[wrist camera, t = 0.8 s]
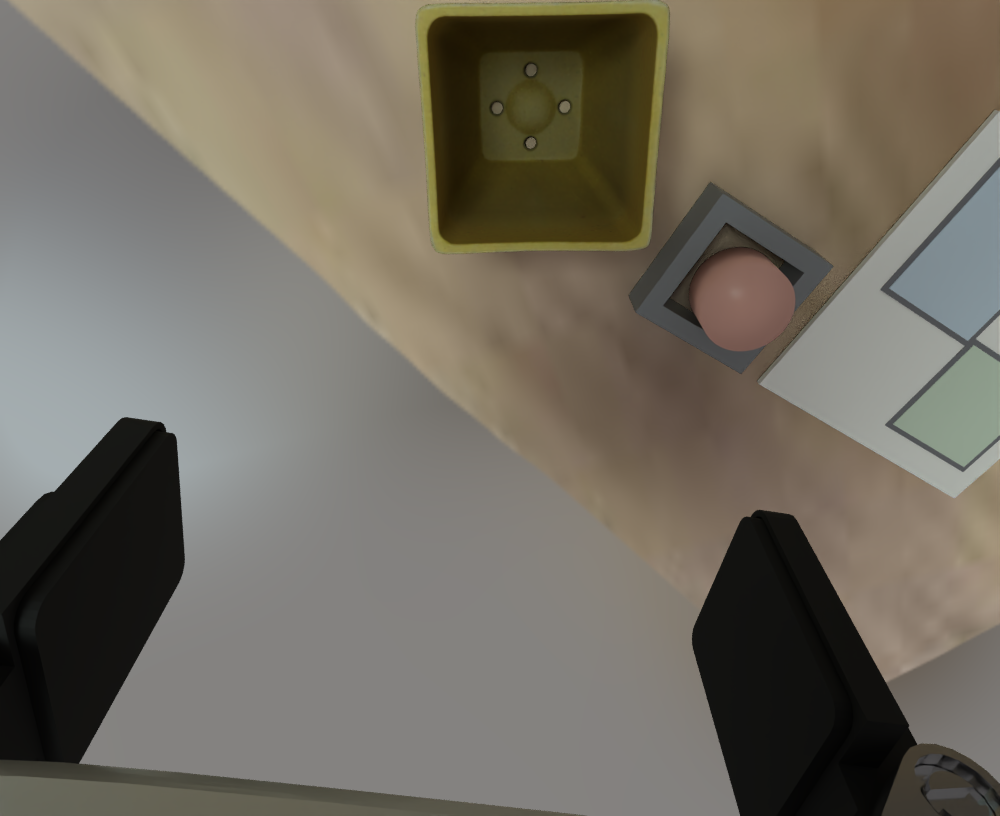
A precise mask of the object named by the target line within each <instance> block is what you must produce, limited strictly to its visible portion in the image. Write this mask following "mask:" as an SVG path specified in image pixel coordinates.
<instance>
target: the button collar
mask: <svg viewBox="0 0 1000 816" xmlns="http://www.w3.org/2000/svg"><path fill="white" fill-rule="evenodd" d="M725 223H728V224H730V225H731V226H733V227H734V228H736V229H737V230H739V231H740V232H742V233H743V234H745V235H746V236H748V237H750V238H751V239H753V240H754V241H756V242H757V243H759V244H760V245H762V246H763V247H765V248H767V249H768V250H770V251H771V252H773V253H774V254H776V255H777V256H779V257H780V258H782V259H783V260H785V262H784V263H783V264H782V266H781V267H780V268H779V270H780V271H781V272H782V273H783V274H784V275H785V276H786V277H787V278H788V280H789V281H790V282H791V284H792V286H793V289H794V292H795V309H794V312H795V311H796V310H797V308H798V307H799V306H800V305H801V304H802V303H803V301H804V300H805V299H806V298H807V297H808V296H809V294H810V293H811V292H812V291H813V290H814V289H815V287H816V286H817V285H818V284H819V283H820V282H821V280H822V279H823V278H824V277H825V276H826V275H827V273H828V272H829V271H830V270H831V269H832V268H833V265H831V264H830V263H829V262H828V261H827V260H825V259H824V258H823V257H822V256H821V255H819V254H818V253H817V252H816V251H814V250H813V249H811V248H810V247H808V246H807V245H805V244H804V243H802V242H801V241H799V240H798V239H796V238H795V237H793V236H792V235H790V234H789V233H787V232H786V231H784V230H783V229H781V228H780V227H778V226H777V225H775V224H774V223H772V222H771V221H769V220H767V219H766V218H764V217H763V216H761V215H760V214H758V213H757V212H755V211H754V210H752V209H751V208H749V207H748V206H746V205H745V204H743V203H742V202H740V201H739V200H737V199H736V198H734V197H733V196H731V195H730V194H728V193H727V192H725V191H724V190H722V189H721V188H719V187H718V186H716V185H715V184H713V183H712V182H710V183H709V184H708V186H707V187H706V189H705V190H704V191H703V193H702V194H701V196H700V197H699V198H698V200H697V201H696V202H695V204H694V205H693V207H692V208H691V209H690V211H689V212H688V214H687V215H686V216H685V218H684V219H683V220H682V222H681V223H680V225H679V226H678V227H677V229H676V230H675V232H674V233H673V234H672V236H671V237H670V238H669V240H668V241H667V243H666V244H665V245H664V247H663V248H662V250H661V251H660V252H659V254H658V255H657V256H656V258H655V259H654V261H653V262H652V263H651V265H650V266H649V268H648V269H647V270H646V272H645V273H644V274H643V276H642V277H641V279H640V280H639V281H638V283H637V284H636V286H635V287H634V288H633V290H632V291H631V292H630V294H629V298H630V300H631V303H632V305H633V307H634V310H635V312H636V313H638V314H639V315H641V316H643V317H644V318H646V319H648V320H649V321H651V322H653V323H655V324H656V325H658V326H660V327H661V328H663V329H665V330H667V331H668V332H670V333H672V334H673V335H675V336H677V337H679V338H680V339H682V340H684V341H685V342H687V343H689V344H691V345H692V346H694V347H696V348H697V349H699V350H701V351H703V352H704V353H706V354H708V355H709V356H711V357H713V358H715V359H716V360H718V361H720V362H721V363H723V364H725V365H726V366H728V367H730V368H732V369H733V370H735V371H737V372H738V373H740V374H742V372H743V371H744V370H745V369H746V368H747V367H748V365H749V364H750V363H751V362H752V361H753V360H754V358H755V357H756V356H757V355H758V354H759V353H760V352H761V350H762V349H763V348H764V347H765V346H766V345H765V346H763V347H760V348H758V349H754V350H749V351H731V350H727V349H724V348H722V347H720V346H718V345H716V344H715V343H714V342H713V341H711V340H710V339H709V337H708V336H707V335H706V333H705V331H704V330H703V328H702V326H701V324H700V323H699V321H698V319H697V318H696V316H695V314H694V313H693V312H692V311H690V310H688V309H687V308H685V307H683V306H682V305H680V304H678V303H677V302H675V301H673V300H672V299H670V298H669V297H670V296H671V295H672V293H673V292H674V291H675V289H676V288H677V287H678V285H679V284H680V283H681V281H682V280H683V279H684V277H685V276H686V275H687V273H688V272H689V271H690V269H691V268H692V267H693V265H694V264H695V263H696V261H697V260H698V259H699V257H700V256H701V255H702V253H703V252H704V251H705V249H706V248H707V247H708V246H709V244H710V243H711V242H712V240H713V239H714V238H715V236H716V235H717V234H718V232H719V231H720V230H721V228H722V227H723V226H724V224H725Z"/></svg>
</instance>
